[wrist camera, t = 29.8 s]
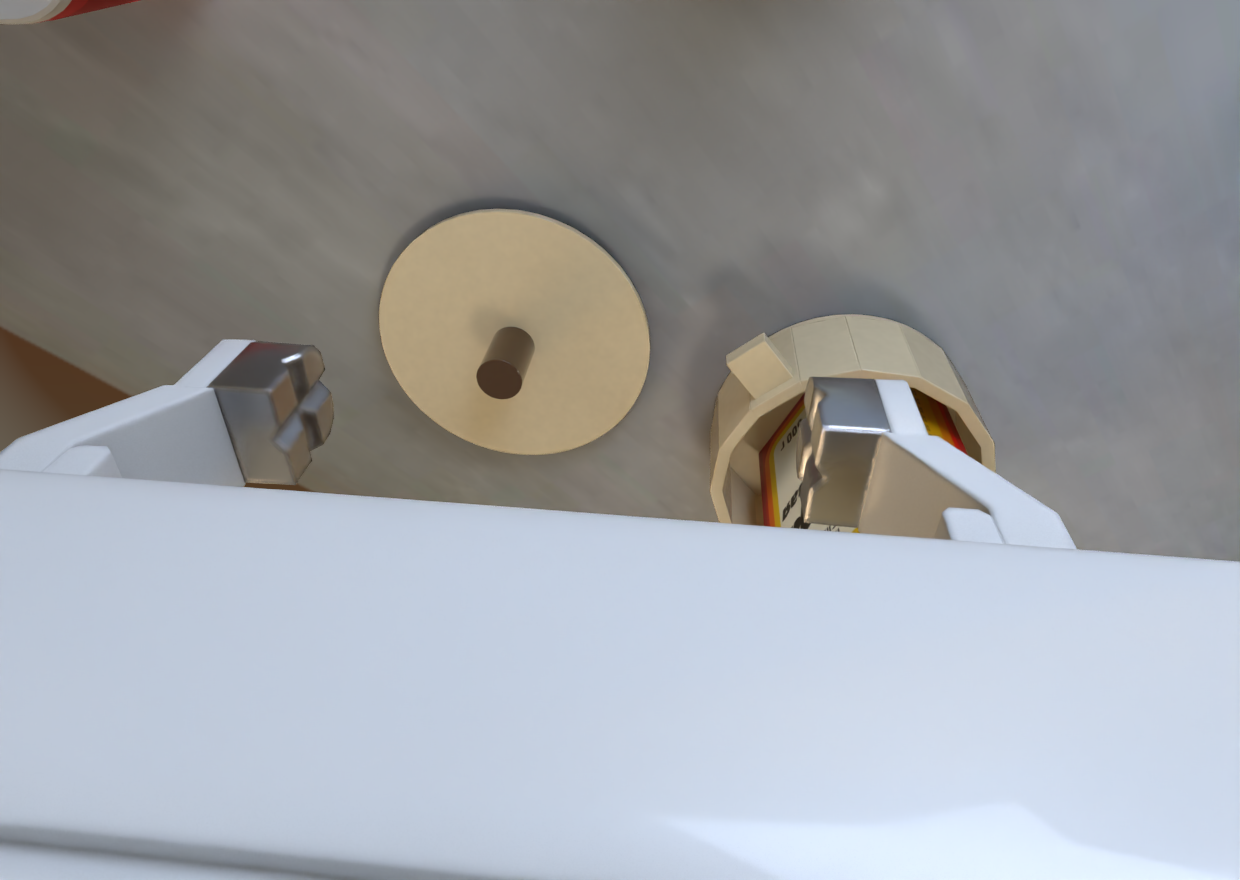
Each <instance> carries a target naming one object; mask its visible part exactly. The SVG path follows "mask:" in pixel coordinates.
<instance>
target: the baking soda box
mask: <svg viewBox="0 0 1240 880" xmlns="http://www.w3.org/2000/svg"><path fill="white" fill-rule="evenodd" d="M910 389H911V392H912V394H913V397H914V400H915V402H916V405H917V407H918V410H919V412H920V415H921V417H922V420H923V422H924V425H925V427H926V430H927V432H928V435H929V436H939V437H940V438H942V439H943V440H945V441H946V442H948V443H949V444H951V445H952V446H954V447H956V448H957V449H959V450H960V451H962V452H963V453H965V454H966V455H968V454H967V452H966V449H965V447H964V445H963V443H962V440H961V438H960V436H959V433H958V431H957V429H956V427H955V424H954V422H953V420H952V417H951V415H950V413H949V411H948V408H947V406H946V405H944V404H942V403H940V402H939V401H937V400H935V399H933V398H931V397H930V396H928V395H926V394H924V393H923V392H921V391H919V390H917V389H915V388H910ZM804 396H805V393H804V394H803V395H802V397H801V398H800V399H799V401H798V402H797V403H796V405H795V406H794V407H793V409H792V410H791V411H790V413H789V414H788V415H787V417H786V418H785V419H784V421H783V422H782V423H781V425H780V426H779V427H778V428H777V430H776V431H775V432H774V434H773V435H772V436H771V438H770V439H769V440H768V442H767V443H766V444H765V446H764V447H763V448H762V450H761V451H760V452H759V454H758V455H759V468H760V481H761V493H762V506H763V519H764V526H770V527H783V528H797V529H810V530H824V531H837V532H850V533H860V532H859V531H858V528H852V527H842V526H832V525H822V524H812V523H804V519H803V513H802V506H801V500H800V492H801V487H802V481H801V480H799V479H798V478H797V470H796V448H797V438H798V431H799V424H800V422H801V421H802V420H803V419H804V418H805V417H807V416H806V410H805V404H804Z"/></svg>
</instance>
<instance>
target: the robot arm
mask: <svg viewBox="0 0 1240 880" xmlns="http://www.w3.org/2000/svg"><path fill="white" fill-rule="evenodd" d="M324 371H325V367H324V363H323V359H322V356H321V352H320V351H319V350H318V349H317V348H316V347H315V346H314V345H301V344H289V343H277V342H264V341H255V340H235V339H229V340H222V341H221V342H220V343H219V344H218V345H217V346H216V347H214V348H213V349H212V350H211V351H210V352H209V353H208V354H207V355H206V356H205V357H204V358H203V359H202V360H200V361H199V362H198V363H197V364H196V365H195V366H194V367H193V368H192V369H191V370H190V371H189V372H188V373H187V374H185V375H184V376H183V377H182V378H181V379H180V380H179V381H178V382H177V383H176V384H175V385H174V386H171V385H163V386H161V387H158V388H155V389H152V390H150V391H147V392H144V393H141V394H139V395H136V396H133V397H131V398H128V399H125V400H122V401H119V402H117V403H114V404H111V405H108V406H105V407H103V408H100V409H97V410H94V411H92V412H89V413H86V414H83V415H81V416H78V417H75V418H72V419H70V420H67V421H64V422H61V423H59V424H56V425H53V426H50V427H48V428H45V429H42V430H39V431H36V432H34V433H31V434H28V435H25V436H23V437H20V438H17V439H16V440H15V441H14V442H13V443H11V444H10V445H9V446H8V447H6V448H5V449H4V450H3V451H1V452H0V880H1240V562H1237V561H1224V560H1210V559H1197V558H1184V557H1171V556H1157V555H1144V554H1131V553H1118V552H1104V551H1091V550H1077V548H1076V546H1075V544H1074V542H1073V541H1072V539H1071V537H1070V535H1069V533H1068V531H1067V529H1066V528H1065V526H1064V524H1063V522H1062V520H1061V518H1060V516H1059V515H1058V513H1056V512H1055V511H1053V510H1051V509H1050V508H1048V507H1047V506H1045V505H1044V504H1042V503H1041V502H1039V501H1038V500H1036V499H1034V498H1033V497H1031V496H1030V495H1028V494H1027V493H1025V492H1024V491H1022V490H1021V489H1019V488H1017V487H1016V486H1014V485H1013V484H1011V483H1010V482H1008V481H1007V480H1005V479H1004V478H1002V477H1000V476H999V475H997V474H996V473H994V472H993V471H991V470H990V469H988V468H986V467H985V466H983V465H982V464H980V463H979V462H977V461H976V460H974V459H973V458H971V457H969V456H968V455H966V454H965V453H963V452H962V451H960V450H959V449H957V448H956V447H954V446H952V445H951V444H949V443H948V442H946V441H945V440H943V439H942V438H940V437H939V436H929V435H928V432H927V430H926V427H925V425H924V422H923V420H922V417H921V415H920V412H919V410H918V407H917V405H916V402H915V400H914V397H913V394H912V392H911V389H910V387H909V384H908V382H906V381H905V380H887V379H863V378H836V377H809V379H808V383H807V386H806V391H805V396H804V404H805V410H806V416H807V417H805V418H804V419H803V420H802V421H801V422H800V424H799V431H798V438H797V448H796V470H797V478H798V479H799V480H801V481H802V487H801V492H800V500H801V506H802V513H803V519H804V523H812V524H822V525H832V526H842V527H852V528H858V531H859V532H860V533H850V532H837V531H824V530H810V529H797V528H783V527H770V526H757V525H743V524H730V523H716V522H703V521H690V520H676V519H663V518H649V517H636V516H622V515H609V514H596V513H582V512H569V511H555V510H542V509H529V508H515V507H502V506H489V505H475V504H462V503H449V502H435V501H422V500H409V499H395V498H382V497H369V496H355V495H342V494H329V493H315V492H301V491H289V490H275V489H261V488H249V487H243V486H244V485H245V483H246V482H247V483H248V482H249V483H267V484H289V485H296V483H297V482H298V480H299V479H300V477H301V476H302V474H303V473H304V472H305V470H306V469H307V467H308V466H309V464H310V463H311V462H312V458H311V454H310V451H311V450H313V449H315V448H317V447H319V446H321V445H323V444H324V442H325V441H326V439H327V438H328V436H329V435H330V432H331V428H332V424H333V419H334V409H333V401H332V396H331V392H330V391H329V390H328V389H327V388H326V387H325V386H324V385H323V384H322V383H321V382H320V380H319V379H320V377H321V376H322V374H323V372H324Z"/></svg>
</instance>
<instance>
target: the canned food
mask: <svg viewBox="0 0 1240 880" xmlns="http://www.w3.org/2000/svg"><path fill="white" fill-rule="evenodd" d="M135 1H139V0H0V23H1V24H35V23H39V22H44V21H50V20H56V19H61V18H65V17H69V16H74V15H78V14H83V13H87V12H91V11H96V10H100V9H104V8H109V7H113V6H118V5H122V4H126V3H131V2H135Z"/></svg>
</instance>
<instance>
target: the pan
mask: <svg viewBox="0 0 1240 880" xmlns="http://www.w3.org/2000/svg"><path fill="white" fill-rule="evenodd" d="M726 364H727V366H728V367H729V368H730V370H731V372H730V374H729V375H728V377H727V378H726V380H725V381H724V383H723V385H722V388H721V390H720V391H719V393H718V397H717V400H716V404H715V407H714V414H713V421H712V426H711V431H710V493H711V497H712V500H713V503H714V507H715V510H716V513H717V517H718V520H719V523H730V524H743V525H757V526H764V519H763V506H762V493H761V481H760V468H759V455H758V454H759V452H760V451H761V450H762V448H763V447H764V446H765V444H766V443H767V442H768V440H769V439H770V438H771V436H772V435H773V434H774V432H775V431H776V430H777V428H778V427H779V426H780V425H781V423H782V422H783V421H784V419H785V418H786V417H787V415H788V414H789V413H790V411H791V410H792V409H793V407H794V406H795V405H796V403H797V402H798V401H799V399H800V398H801V397H802V395H803V394H804V393H805V391H806V386H807V383H808V379H809V377H836V378H863V379H887V380H905V381H906V382H908V384H909V387H910V388H915V389H917V390H919V391H921V392H923V393H924V394H926V395H928V396H930V397H931V398H933V399H935V400H937V401H939V402H940V403H942V404H944V405H946V406H947V408H948V411H949V413H950V415H951V417H952V420H953V422H954V424H955V427H956V429H957V431H958V433H959V436H960V438H961V440H962V443H963V445H964V447H965V449H966V452H967V454H968V456H969V457H971V458H973V459H974V460H976V461H977V462H979V463H980V464H982V465H983V466H985V467H986V468H988V469H990V470H991V471H993V472H994V473H996V466H995V444H994V441H993V439H992V437H991V435H990V433H989V431H988V429H987V427H986V425H985V423H984V421H983V419H982V417H981V415H980V413H979V411H978V409H977V407H976V405H975V403H974V401H973V399H972V397H971V394H970V392H969V390H968V388H967V386H966V384H965V383H964V381H963V380H962V378H961V377H960V375H959V374H958V372H957V371H956V369H955V367H954V365H953V364H952V362H951V361H950V359H949V358H948V357H947V355H946V354H945V352H944V351H943V349H942V348H941V347H939V346H937V345H936V344H935V343H934V342H933V341H932V340H930V339H929V338H927V337H926V336H924V335H923V334H921V333H920V332H918V331H916V330H914V329H912V328H910V327H908V326H906V325H904V324H901V323H898V322H895V321H892V320H889V319H885V318H880V317H875V316H870V315H856V314H846V315H831V316H825V317H819V318H814V319H811V320H807V321H803V322H800V323H797V324H795V325H792V326H790V327H787V328H785V329H782V330H781V331H779V332H777V333H775V334H773V335H771V336H769V337H767V336H766V334H765V333H764V332H763V333H761V334H760V335H758V336H757V337H755V338H753V339H752V340H750V341H749V342H747V343H745V344H744V345H742V346H741V347H739V348H737V349H736V350H734V351H733V352H731V353H729V354H728V355H727V356H726Z"/></svg>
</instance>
